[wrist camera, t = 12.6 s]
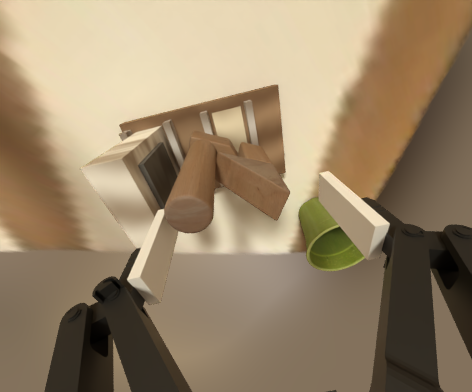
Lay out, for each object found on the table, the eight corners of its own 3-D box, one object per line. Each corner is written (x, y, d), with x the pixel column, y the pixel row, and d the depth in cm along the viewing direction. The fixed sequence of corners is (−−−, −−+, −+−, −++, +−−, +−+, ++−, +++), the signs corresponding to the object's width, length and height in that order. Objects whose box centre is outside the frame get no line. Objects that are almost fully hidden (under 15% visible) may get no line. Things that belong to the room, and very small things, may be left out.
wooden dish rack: (124, 122, 30) (47, 158, 17) (274, 84, 29) (323, 90, 15) (161, 195, 38) (128, 262, 24) (282, 168, 36) (320, 221, 23)
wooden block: (255, 167, 32) (289, 250, 16) (190, 152, 30) (158, 232, 14) (262, 145, 30) (308, 216, 15) (193, 128, 28) (161, 190, 13)
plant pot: (283, 197, 40) (303, 234, 30) (340, 180, 39) (380, 213, 29) (291, 236, 46) (310, 278, 36) (341, 222, 45) (374, 262, 35)
